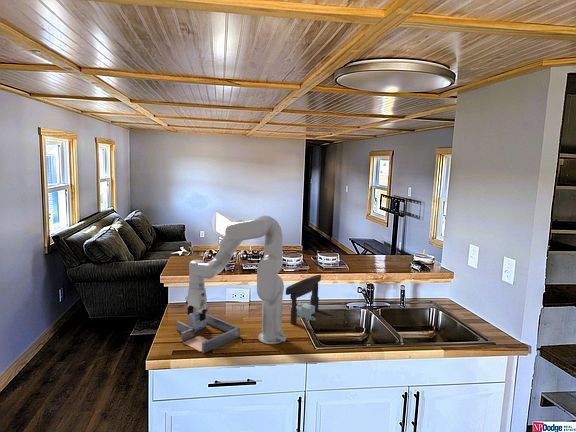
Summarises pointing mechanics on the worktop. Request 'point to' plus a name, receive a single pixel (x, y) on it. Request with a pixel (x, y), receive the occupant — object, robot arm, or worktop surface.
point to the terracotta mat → (196, 343)
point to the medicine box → (196, 321)
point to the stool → (300, 290)
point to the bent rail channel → (208, 345)
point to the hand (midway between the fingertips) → (196, 317)
